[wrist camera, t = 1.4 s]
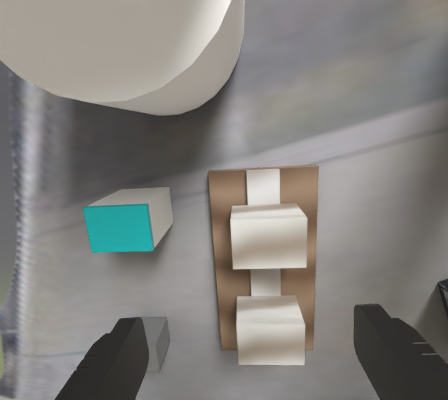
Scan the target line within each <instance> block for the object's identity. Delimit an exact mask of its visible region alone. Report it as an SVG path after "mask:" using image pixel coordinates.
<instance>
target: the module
mask: <svg viewBox="0 0 448 400" xmlns="http://www.w3.org/2000/svg"><path fill="white" fill-rule="evenodd" d="M83 212H84V217H85V221H86V226H87V231H88V236H89V241H90V246H91V251H92V253H96V252H130V251H153V250H154V248H155V247H156V245H157V244H158V243H159V241H160V240H161V239H162V237H163V236H164V235H165V233H166V232H167V231H168V229H169V228H170V227H171V225H172V224H173V214H172V205H171V197H170V188H169V187H160V188H139V189H121V190H119V191H117V192H115V193H113V194H110V195H108V196H106V197H104V198H102V199H100V200H98V201H96V202H94V203H92V204H90V205H88V206H86V207H84V208H83Z"/></svg>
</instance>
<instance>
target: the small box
mask: <svg viewBox="0 0 448 400" xmlns="http://www.w3.org/2000/svg"><path fill="white" fill-rule="evenodd" d="M438 285H439V288H440V292H441V295H442V298H443V302H444V305H445V308H446V312H447V315H448V279H446V280H443V281H440V282H439V283H438Z"/></svg>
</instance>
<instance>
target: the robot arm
mask: <svg viewBox="0 0 448 400" xmlns="http://www.w3.org/2000/svg"><path fill="white" fill-rule="evenodd" d="M354 346H355V351H356V354H357V357H358V359H359V361H360V363H361V365H362V367H363V369H364V371H365V372H366V374H367V376H368V378H369V380H370V382H371V384H372V385H373V387H374V389H375V391H376V393H377V395H378V396H379V398H380V400H448V365H447V364H446V363H445V361H444V360H443V359H442V358H441V357H440V356H439V355H437V354H436V352H435V351H434V349H433V348H432V347H431V346H430V345H429V344H427V343H426V341H425V340H424V339H423V337H422V336H421V335H420V334H419V333H418V332H417V331H416V330H415V329H414V328H413V327H411V326H410V325H408V324H407V323H405V322H403V321H402V320H400V319H399V318H391V317H390V316H389V315H388V314H387V313H386V311H385V310H384V309H383V308H382V307H381V306H380V305H379V304H363V305H355V307H354ZM148 363H149V348H148V343H147V338H146V333H145V329H144V324H143V320H142V318H141V317H135V318H121V319H119V321H118V322H117V324H116V325H115V327H114V328H113V330H112V331H111V333H106V334H105V335H103V336H102V337H101V338H100V339H99V340H98V341H96V342H95V343H94V344H93V345H92V347H91V348H90V349H89V351H88V352H87V354H86V355H85V357H84V359H83V360H82V361H81V362H80V364H79V365H78V367H77V370H75V371H74V372H73V374H72V375H71V377H70V378H69V380H68V381H67V383H66V384H65V385H64V387H63V388H62V390H61V391H60V393H59V394H58V395H57V397H56V398H55V400H135V399H136V396H137V393H138V391H139V388H140V386H141V383H142V381H143V378H144V375H145V373H146V370H147V367H148Z"/></svg>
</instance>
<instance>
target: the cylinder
mask: <svg viewBox="0 0 448 400" xmlns="http://www.w3.org/2000/svg"><path fill="white" fill-rule="evenodd" d="M244 8H245V0H0V60H1V61H2V62H3V63H4V64H5V65H7V66H8V67H9V68H10V69H11V70H12V71H14V72H15V73H16V74H17V75H18V76H19V77H21V78H23V79H25V80H27V81H29V82H31V83H33V84H34V85H36V86H38V87H40V88H42V89H44V90H46V91H48V92H50V93H52V94H54V95H57V96H62V97H66V98H71V99H75V100H80V101H84V102H89V103H94V104H99V105H105V106H110V107H115V108H121V109H126V110H131V111H137V112H142V113H147V114H153V115H158V116H163V115H179V114H182V113H185V112H188V111H190V110H193V109H196V108H198V107H200V106H201V105H203V104H204V103H205V102H207V101H208V100H210V99H211V98H213V97H214V96H215V95H216V94H217V93H218V91H219V90H220V89H221V88H222V87H223V85H224V84H225V83H226V82H227V81H228V79H229V78H230V76H231V73H232V71H233V69H234V67H235V65H236V63H237V61H238V59H239V55H240V50H241V45H242V40H243V35H244Z"/></svg>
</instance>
